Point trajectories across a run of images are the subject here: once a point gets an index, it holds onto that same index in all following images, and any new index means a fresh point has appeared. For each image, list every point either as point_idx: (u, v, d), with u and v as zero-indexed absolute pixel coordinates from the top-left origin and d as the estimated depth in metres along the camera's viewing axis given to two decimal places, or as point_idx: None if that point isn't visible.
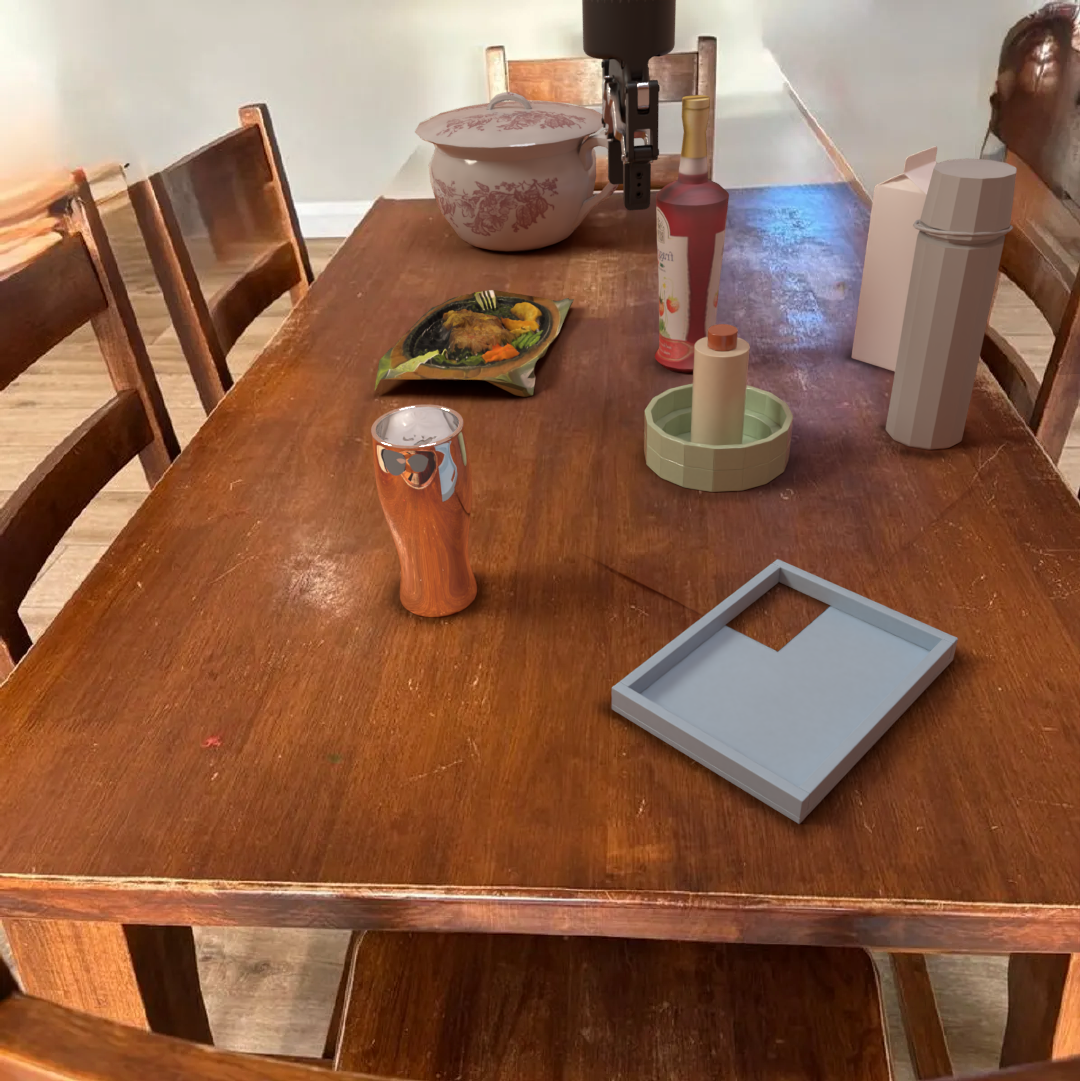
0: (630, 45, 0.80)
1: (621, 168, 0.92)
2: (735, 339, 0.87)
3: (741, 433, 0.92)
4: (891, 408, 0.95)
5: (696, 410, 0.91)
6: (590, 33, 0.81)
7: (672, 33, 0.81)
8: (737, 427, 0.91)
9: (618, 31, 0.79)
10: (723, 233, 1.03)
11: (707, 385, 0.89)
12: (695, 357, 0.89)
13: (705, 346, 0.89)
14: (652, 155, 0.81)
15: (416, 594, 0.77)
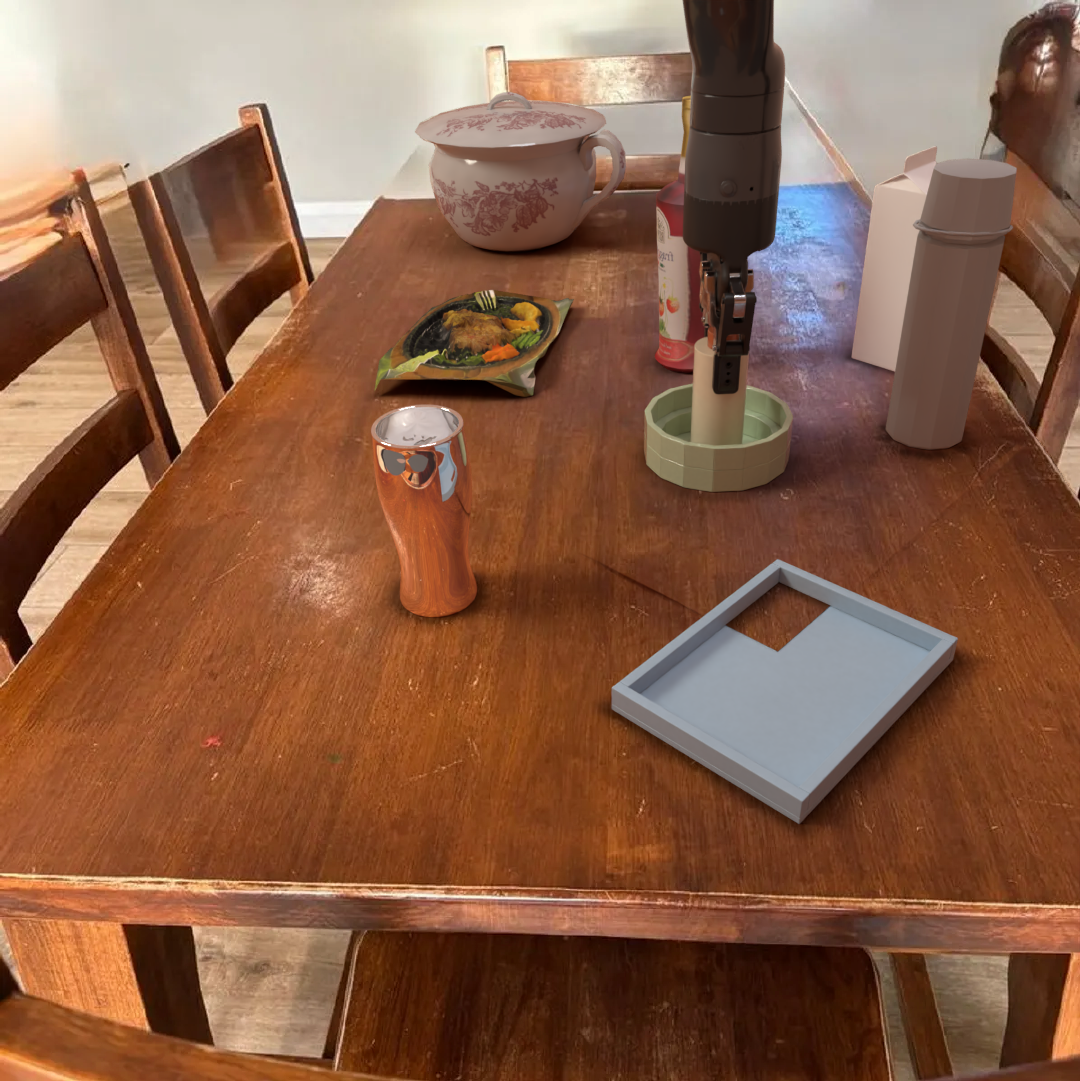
0: (730, 243, 0.80)
1: None
2: (735, 339, 0.87)
3: (741, 433, 0.92)
4: (891, 408, 0.95)
5: (696, 410, 0.91)
6: (690, 228, 0.81)
7: (773, 229, 0.81)
8: (737, 427, 0.91)
9: (719, 230, 0.80)
10: None
11: (707, 385, 0.89)
12: (695, 357, 0.89)
13: (705, 346, 0.89)
14: (742, 351, 0.83)
15: (416, 594, 0.77)
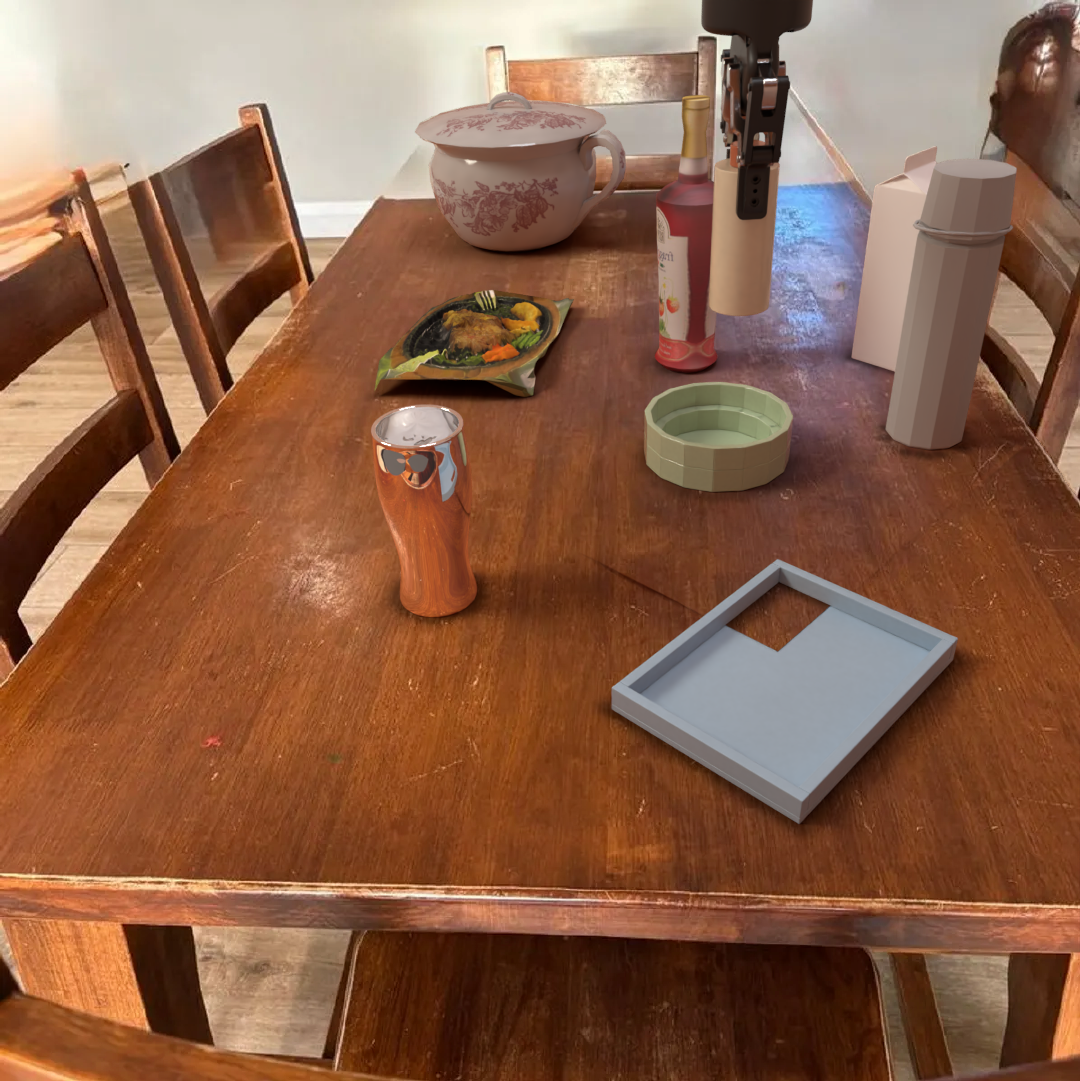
0: (758, 18, 0.67)
1: None
2: None
3: (769, 274, 0.79)
4: (891, 408, 0.95)
5: (716, 245, 0.78)
6: (711, 4, 0.68)
7: (809, 4, 0.68)
8: (764, 266, 0.78)
9: (745, 1, 0.66)
10: None
11: (729, 211, 0.76)
12: (715, 178, 0.76)
13: (727, 165, 0.75)
14: (772, 157, 0.70)
15: (416, 594, 0.77)
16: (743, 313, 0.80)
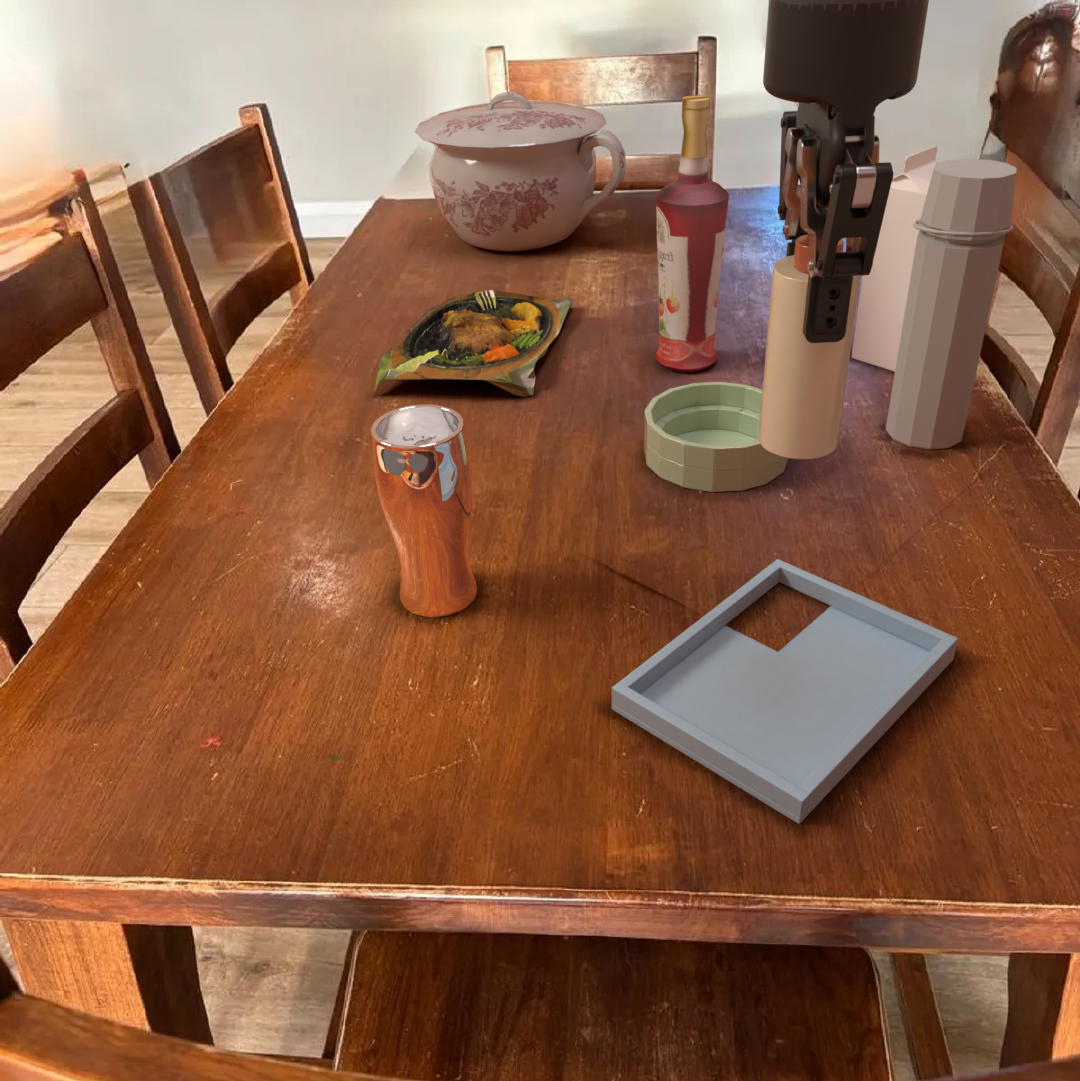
0: (849, 82, 0.48)
1: None
2: None
3: (841, 406, 0.60)
4: (891, 408, 0.95)
5: (772, 370, 0.59)
6: (780, 60, 0.49)
7: (917, 61, 0.49)
8: (836, 397, 0.59)
9: (830, 58, 0.47)
10: (723, 233, 1.03)
11: (793, 329, 0.57)
12: (774, 285, 0.57)
13: (790, 268, 0.56)
14: (861, 268, 0.51)
15: (416, 594, 0.77)
16: (806, 456, 0.61)
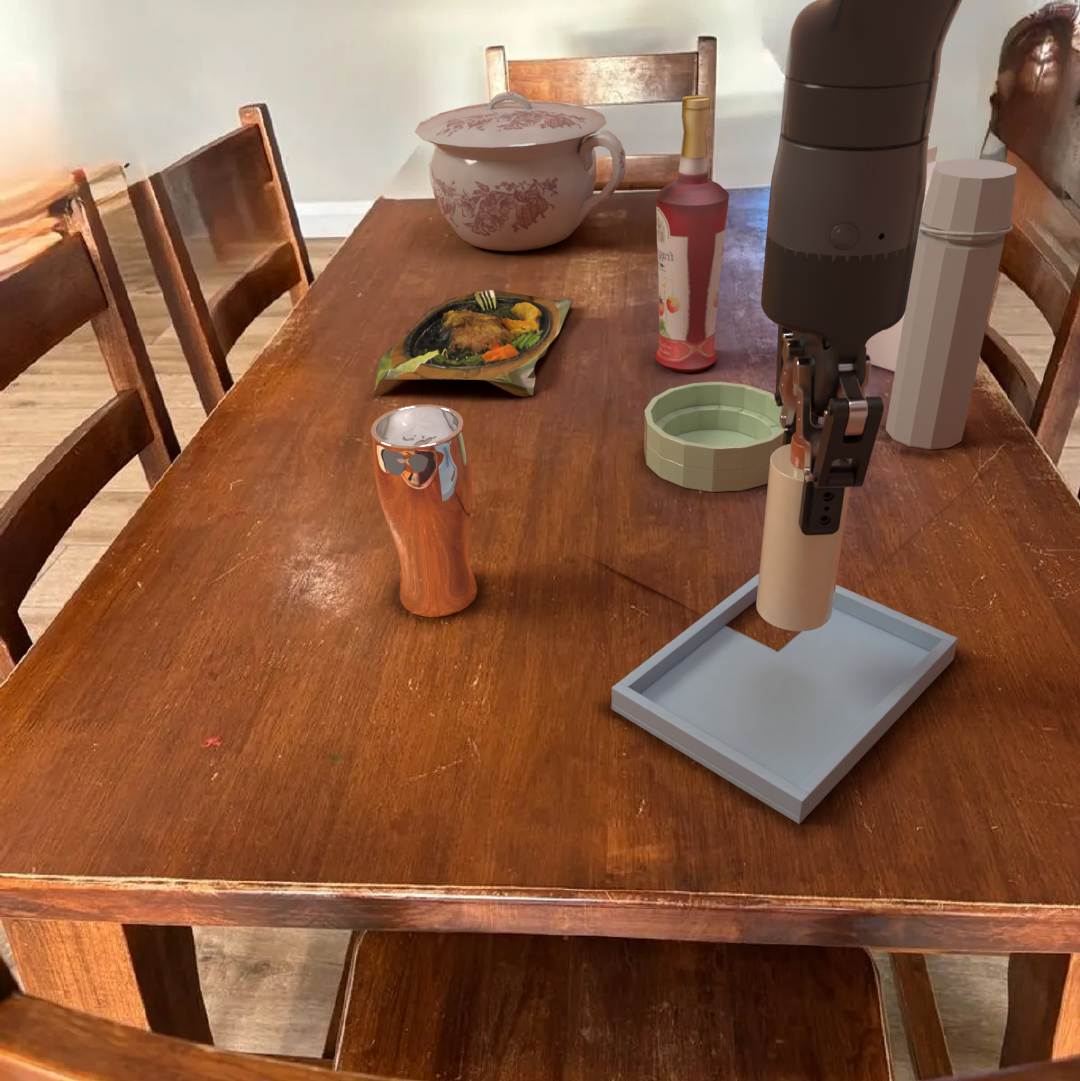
0: (842, 320, 0.51)
1: None
2: None
3: (835, 583, 0.63)
4: (891, 408, 0.95)
5: (770, 551, 0.62)
6: (777, 294, 0.52)
7: (906, 296, 0.52)
8: (830, 577, 0.62)
9: (825, 300, 0.50)
10: (723, 233, 1.03)
11: (790, 520, 0.60)
12: (772, 478, 0.60)
13: (786, 462, 0.59)
14: (853, 482, 0.54)
15: (416, 594, 0.77)
16: (802, 628, 0.64)
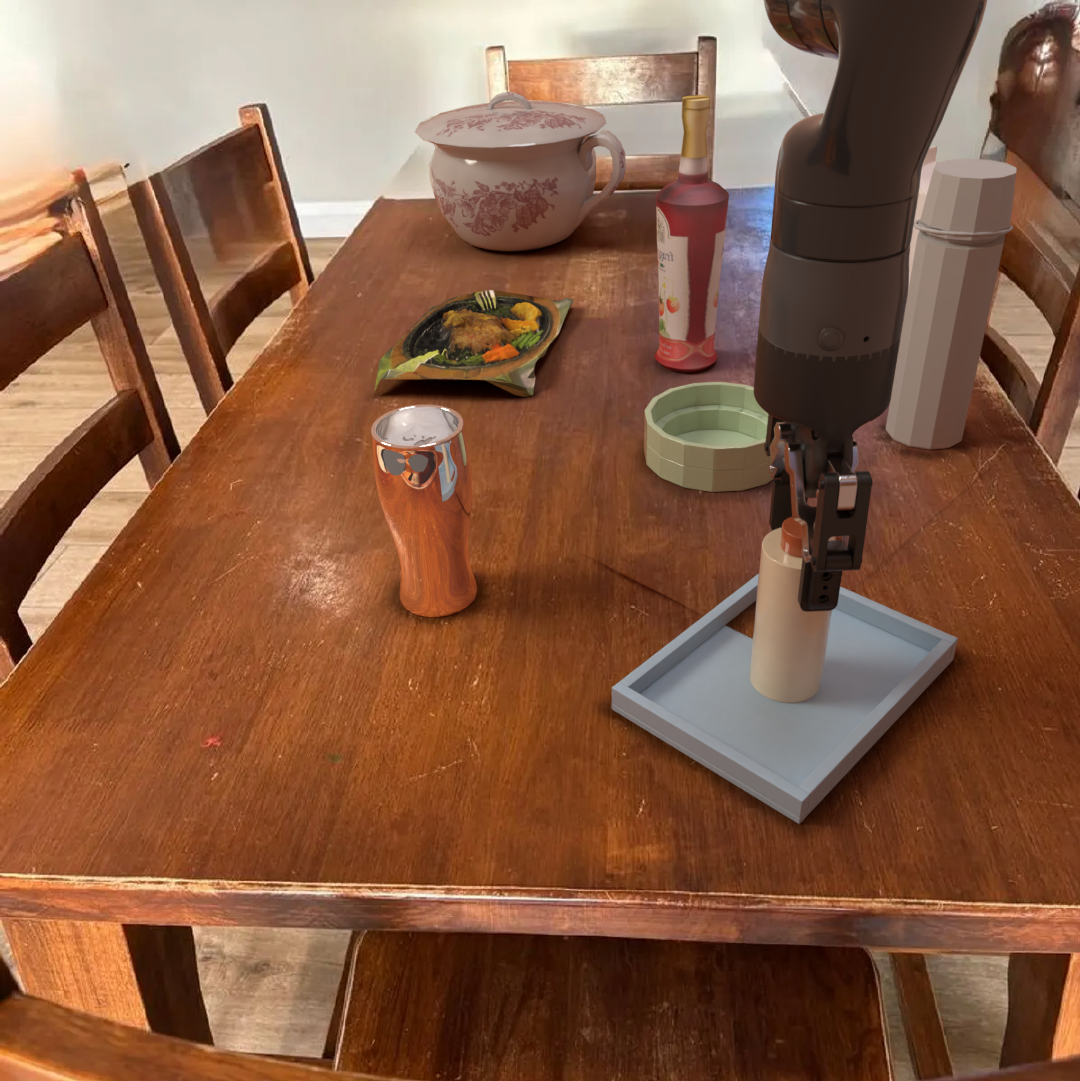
0: (829, 414, 0.54)
1: (789, 514, 0.66)
2: None
3: (823, 658, 0.66)
4: (891, 408, 0.95)
5: (761, 629, 0.65)
6: (768, 387, 0.55)
7: (891, 388, 0.55)
8: (819, 653, 0.65)
9: (813, 395, 0.53)
10: (723, 233, 1.03)
11: (780, 602, 0.63)
12: (763, 562, 0.63)
13: (777, 548, 0.63)
14: (851, 566, 0.55)
15: (416, 594, 0.77)
16: (792, 700, 0.67)
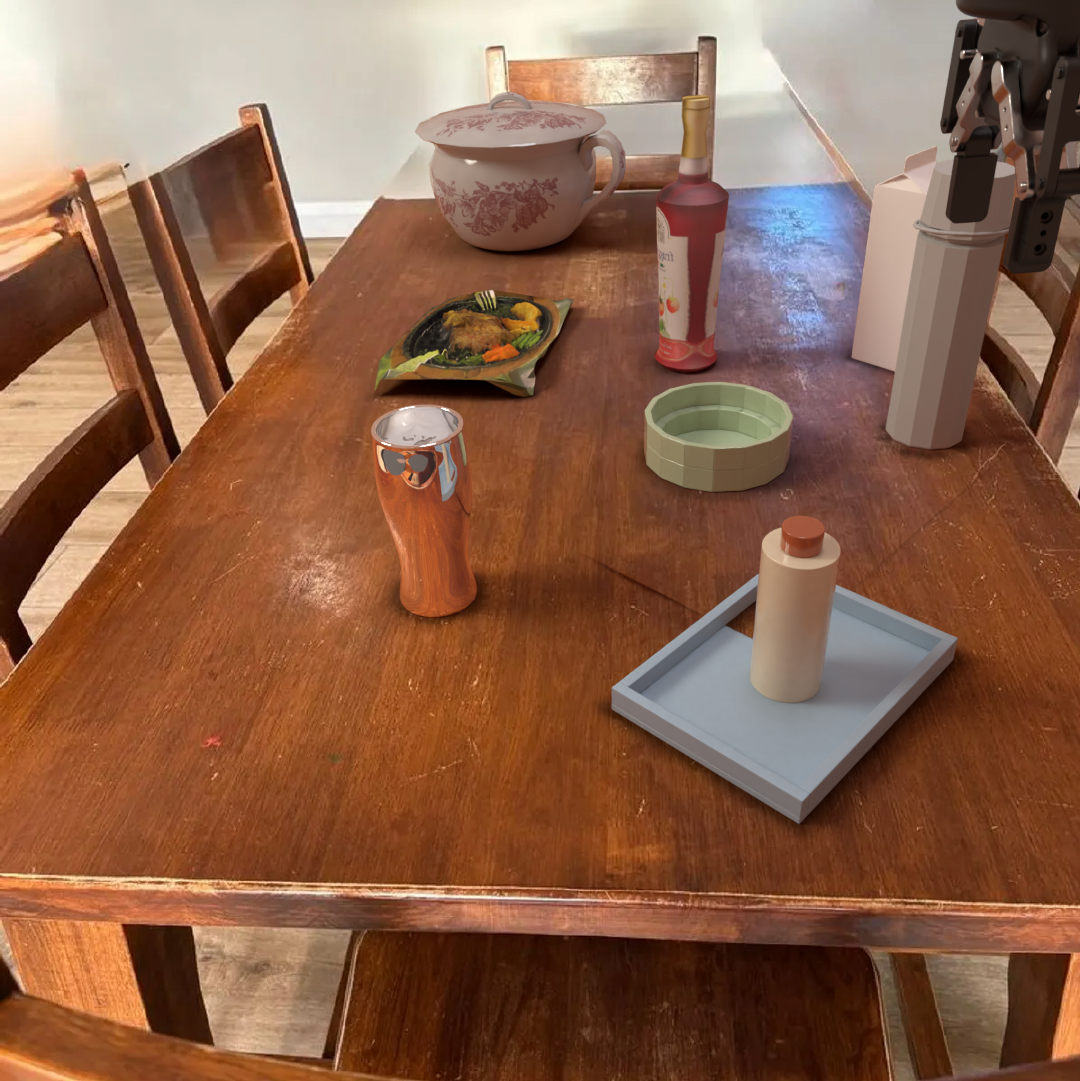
0: None
1: (972, 198, 0.58)
2: (821, 541, 0.62)
3: (823, 658, 0.66)
4: (891, 408, 0.95)
5: (761, 629, 0.65)
6: None
7: None
8: (819, 653, 0.65)
9: None
10: (723, 233, 1.03)
11: (780, 602, 0.63)
12: (763, 562, 0.63)
13: (777, 548, 0.63)
14: None
15: (416, 594, 0.77)
16: (792, 700, 0.67)
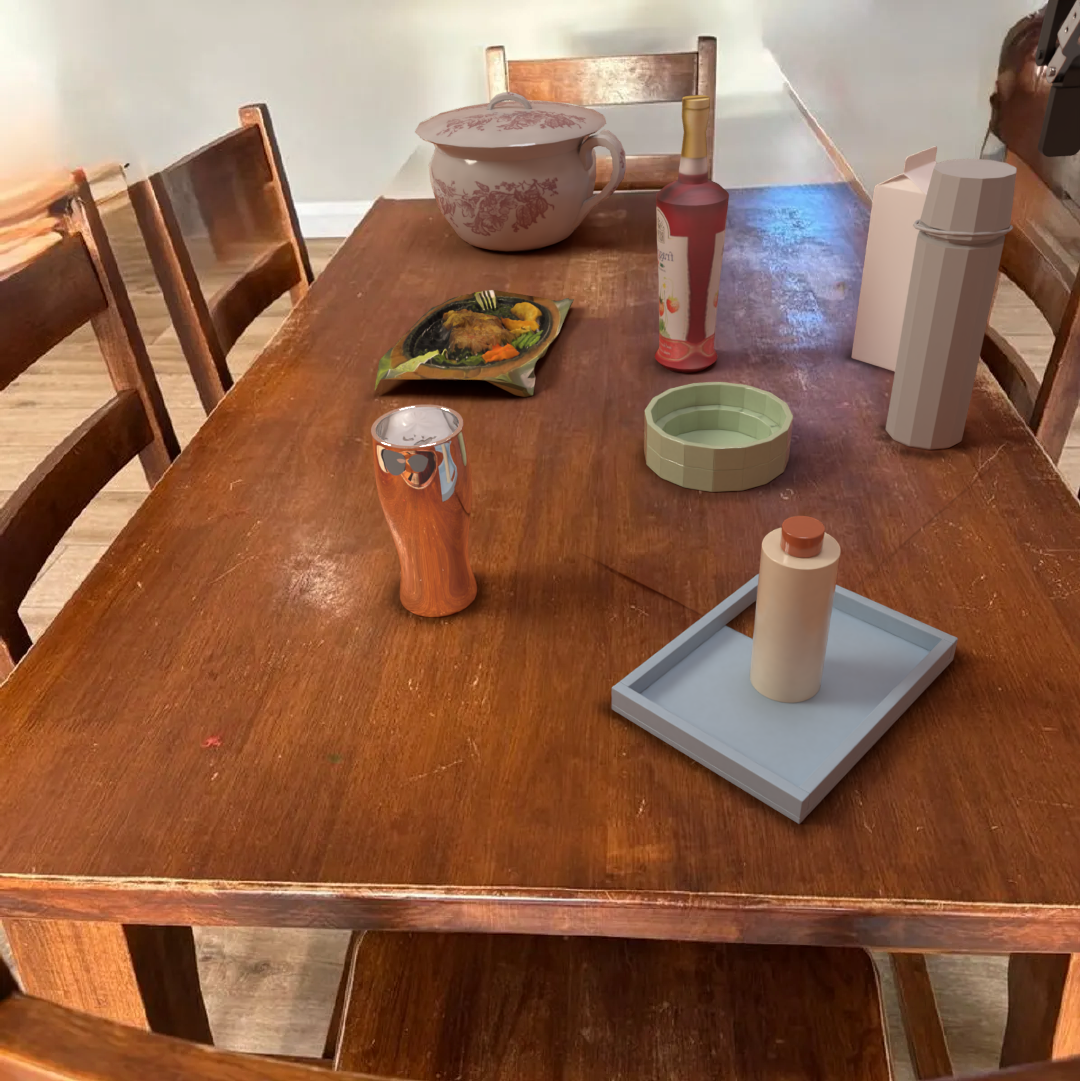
0: None
1: (1066, 131, 0.58)
2: (821, 541, 0.62)
3: (823, 658, 0.66)
4: (891, 408, 0.95)
5: (761, 629, 0.65)
6: None
7: None
8: (819, 653, 0.65)
9: None
10: (723, 233, 1.03)
11: (780, 602, 0.63)
12: (763, 562, 0.63)
13: (777, 548, 0.63)
14: None
15: (416, 594, 0.77)
16: (792, 700, 0.67)
